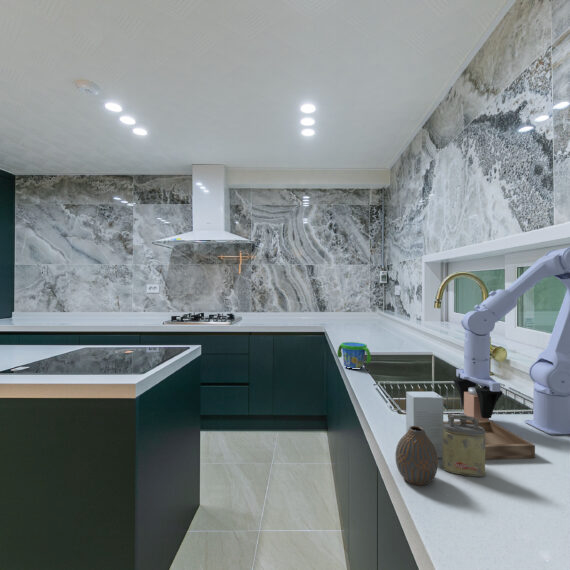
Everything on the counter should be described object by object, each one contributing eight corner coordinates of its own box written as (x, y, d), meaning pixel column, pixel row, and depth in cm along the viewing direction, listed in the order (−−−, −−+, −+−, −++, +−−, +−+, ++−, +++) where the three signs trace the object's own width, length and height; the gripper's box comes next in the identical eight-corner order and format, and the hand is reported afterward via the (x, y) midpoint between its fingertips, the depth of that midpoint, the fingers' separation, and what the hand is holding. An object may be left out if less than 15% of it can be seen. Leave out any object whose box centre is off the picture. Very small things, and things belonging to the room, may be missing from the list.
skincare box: (433, 448, 72) (434, 391, 72) (443, 458, 68) (444, 397, 68) (404, 448, 72) (405, 390, 72) (413, 458, 68) (414, 397, 68)
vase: (390, 468, 64) (391, 420, 64) (428, 469, 64) (429, 421, 64) (402, 489, 57) (402, 436, 57) (444, 491, 57) (445, 437, 57)
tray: (490, 431, 82) (490, 420, 82) (534, 458, 69) (535, 445, 69) (437, 432, 81) (437, 421, 81) (473, 459, 68) (473, 446, 68)
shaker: (478, 418, 90) (478, 386, 90) (488, 424, 86) (489, 391, 86) (463, 418, 90) (464, 387, 90) (473, 424, 86) (473, 391, 86)
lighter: (482, 469, 64) (483, 415, 64) (488, 480, 61) (489, 422, 61) (440, 463, 66) (441, 410, 66) (444, 473, 63) (444, 417, 63)
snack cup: (376, 370, 143) (376, 345, 143) (359, 373, 137) (359, 347, 137) (348, 363, 155) (348, 340, 156) (331, 366, 149) (331, 342, 149)
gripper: (445, 352, 95) (445, 402, 95) (480, 364, 81) (479, 423, 80) (470, 353, 96) (469, 402, 96) (509, 364, 81) (508, 422, 81)
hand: (476, 412), depth 88 cm, fingers open, 7 cm apart
